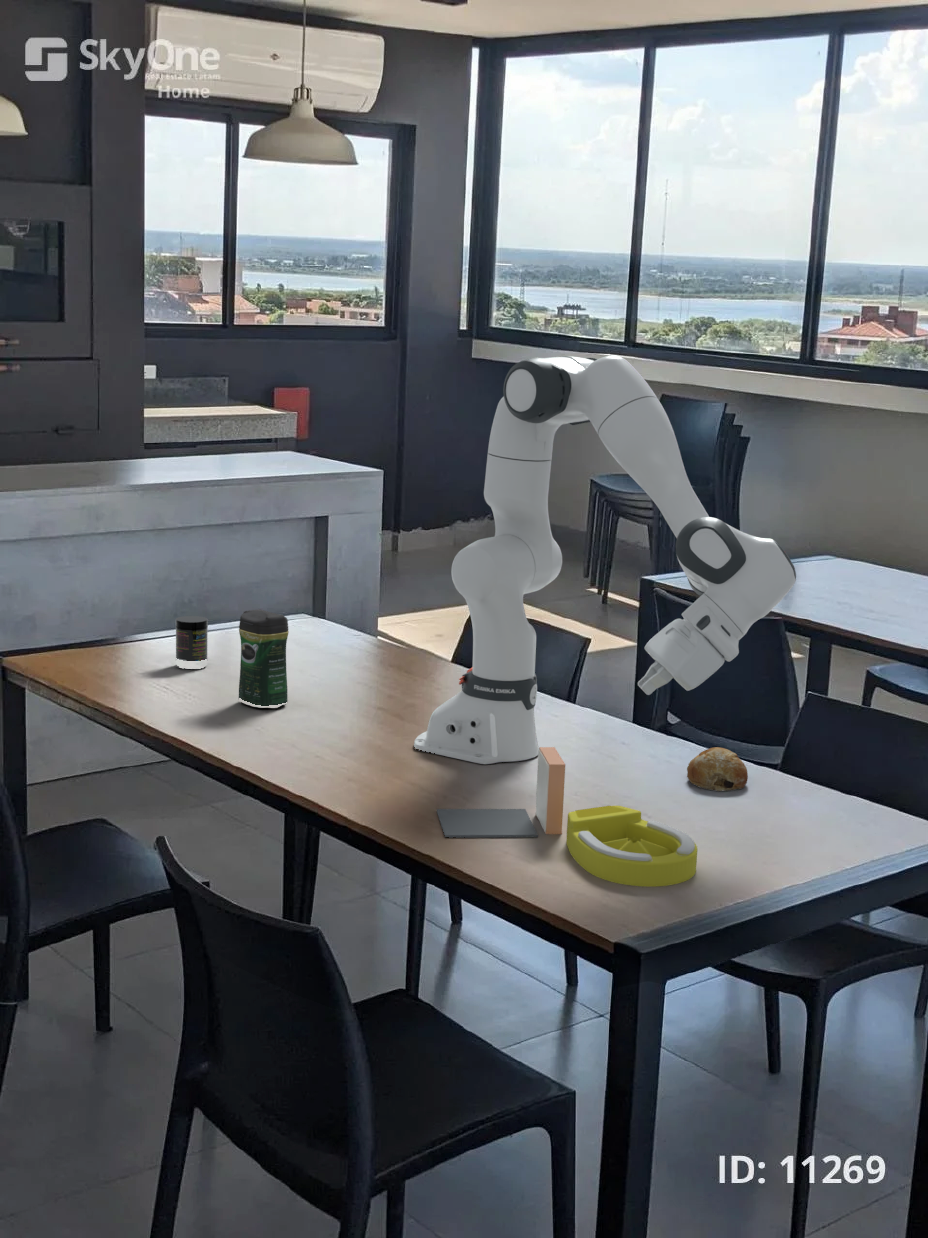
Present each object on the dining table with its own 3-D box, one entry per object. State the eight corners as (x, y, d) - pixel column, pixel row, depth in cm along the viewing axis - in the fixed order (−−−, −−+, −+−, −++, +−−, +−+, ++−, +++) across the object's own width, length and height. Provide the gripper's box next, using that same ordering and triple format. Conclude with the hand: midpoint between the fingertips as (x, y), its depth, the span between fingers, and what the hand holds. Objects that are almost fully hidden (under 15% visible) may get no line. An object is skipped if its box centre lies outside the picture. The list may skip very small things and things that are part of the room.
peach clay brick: (551, 814, 240) (554, 747, 237) (561, 834, 231) (565, 764, 229) (535, 814, 239) (538, 747, 237) (545, 834, 230) (548, 764, 228)
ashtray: (636, 832, 234) (638, 801, 233) (719, 878, 216) (721, 845, 215) (544, 846, 226) (545, 814, 225) (622, 896, 208) (624, 861, 207)
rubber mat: (525, 811, 241) (525, 808, 240) (537, 837, 229) (537, 834, 229) (436, 811, 239) (436, 809, 239) (445, 837, 227) (445, 835, 227)
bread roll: (694, 810, 256) (706, 775, 251) (674, 769, 264) (685, 734, 259) (748, 807, 258) (761, 772, 254) (727, 766, 266) (738, 732, 262)
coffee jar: (294, 706, 297) (296, 613, 294) (261, 712, 292) (262, 617, 288) (264, 696, 304) (265, 604, 300) (231, 702, 299) (232, 609, 295)
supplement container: (213, 665, 328) (214, 618, 326) (196, 672, 322) (196, 623, 319) (187, 661, 330) (187, 614, 328) (169, 668, 324) (169, 619, 322)
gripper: (678, 600, 241) (614, 659, 242) (714, 627, 221) (644, 692, 222) (703, 628, 243) (639, 687, 243) (742, 657, 223) (672, 721, 223)
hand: (642, 689), depth 232 cm, fingers closed
